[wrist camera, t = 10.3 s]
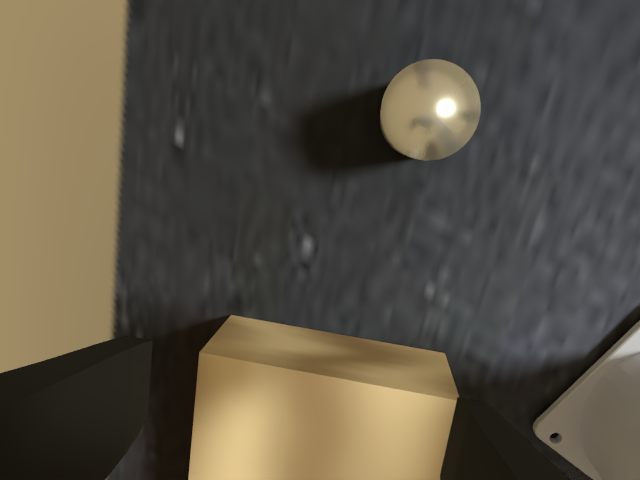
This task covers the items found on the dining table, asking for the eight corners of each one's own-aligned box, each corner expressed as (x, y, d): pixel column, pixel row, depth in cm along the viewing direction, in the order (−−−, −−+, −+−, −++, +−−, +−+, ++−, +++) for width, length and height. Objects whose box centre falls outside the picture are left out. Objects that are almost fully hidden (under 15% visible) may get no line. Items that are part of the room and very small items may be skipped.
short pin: (475, 109, 19) (501, 100, 15) (424, 172, 19) (436, 179, 15) (413, 60, 19) (423, 38, 15) (364, 126, 19) (361, 121, 15)
